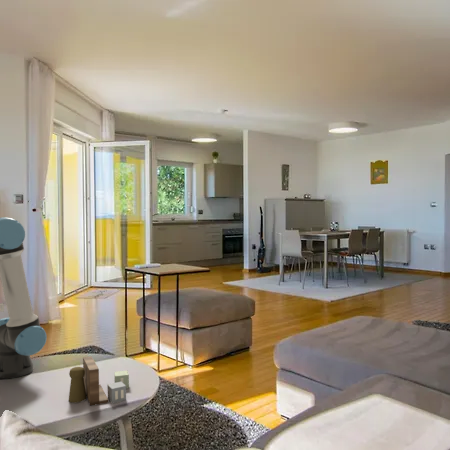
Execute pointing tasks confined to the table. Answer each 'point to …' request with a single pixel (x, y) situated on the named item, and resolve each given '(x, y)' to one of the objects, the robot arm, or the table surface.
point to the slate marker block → (116, 392)
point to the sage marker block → (122, 377)
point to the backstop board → (93, 383)
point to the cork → (77, 385)
